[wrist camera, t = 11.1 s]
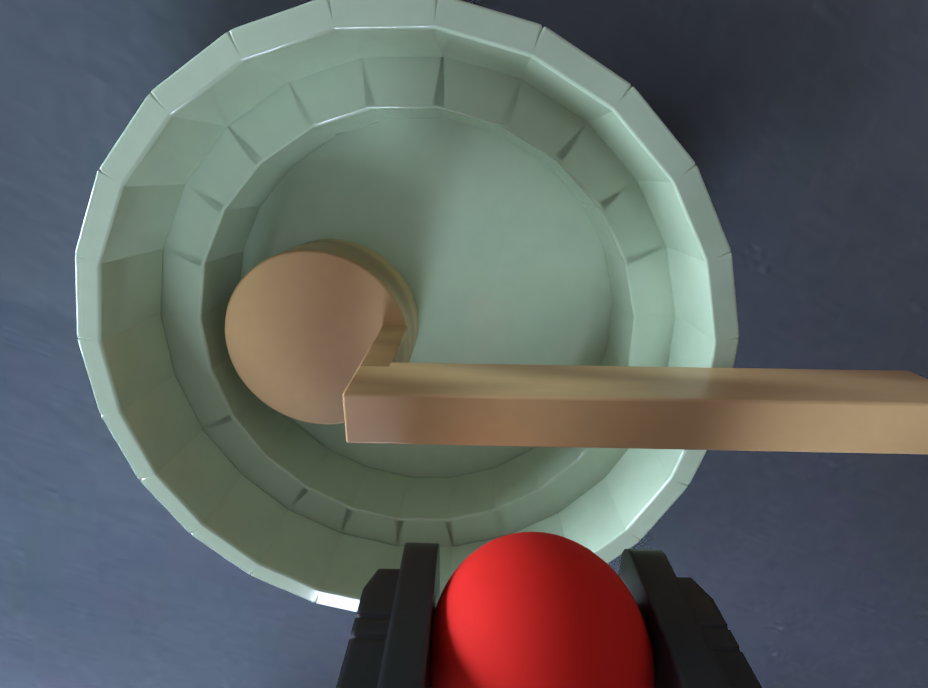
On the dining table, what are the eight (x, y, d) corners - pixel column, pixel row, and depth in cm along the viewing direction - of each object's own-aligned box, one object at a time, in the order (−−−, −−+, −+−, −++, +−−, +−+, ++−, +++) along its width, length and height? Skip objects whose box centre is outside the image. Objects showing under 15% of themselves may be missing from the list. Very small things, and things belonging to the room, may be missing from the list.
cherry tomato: (462, 470, 10) (454, 655, 6) (644, 512, 10) (746, 715, 6) (419, 610, 11) (391, 833, 7) (581, 644, 11) (634, 876, 8)
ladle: (268, 391, 18) (145, 523, 11) (247, 237, 16) (81, 284, 9) (755, 400, 17) (928, 540, 11) (792, 244, 15) (1032, 297, 9)
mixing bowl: (218, -11, 14) (63, -120, 9) (736, 140, 15) (874, 122, 10) (187, 451, 19) (81, 554, 14) (568, 539, 20) (599, 665, 15)
